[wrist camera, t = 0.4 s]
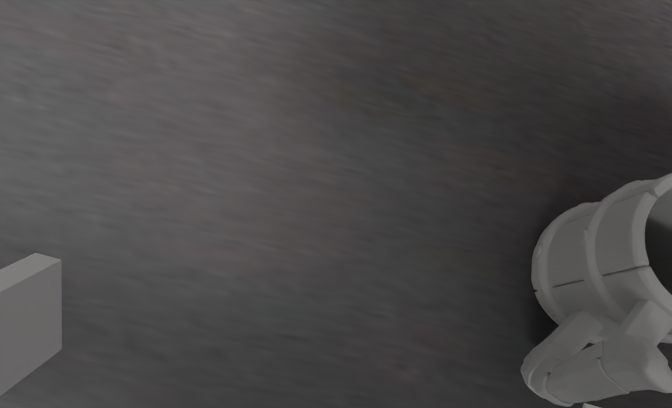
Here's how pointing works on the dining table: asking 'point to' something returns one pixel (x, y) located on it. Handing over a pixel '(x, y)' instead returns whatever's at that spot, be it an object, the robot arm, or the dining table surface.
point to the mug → (605, 297)
